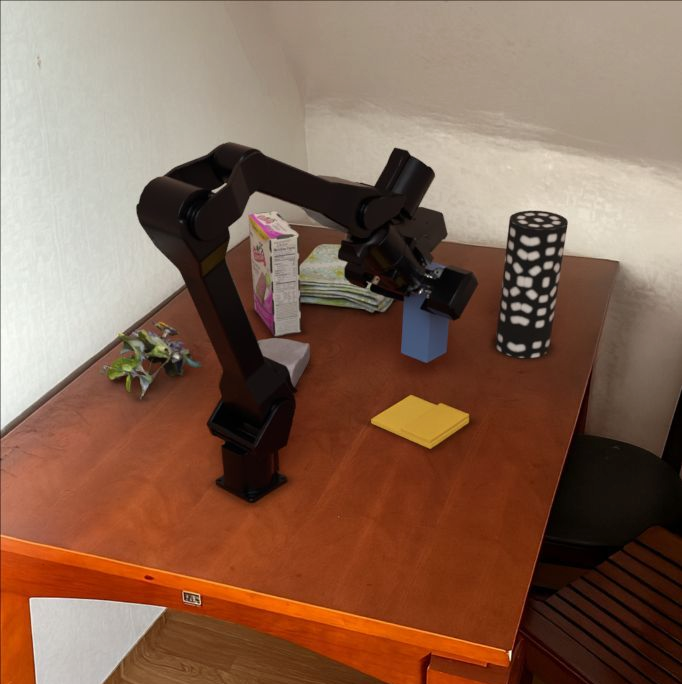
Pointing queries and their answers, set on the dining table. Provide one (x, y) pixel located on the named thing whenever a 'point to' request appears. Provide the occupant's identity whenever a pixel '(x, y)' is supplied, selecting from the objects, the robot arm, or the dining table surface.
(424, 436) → the cloth
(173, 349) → the passion flower
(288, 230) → the candy bar box
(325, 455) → the dining table surface
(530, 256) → the spotted tube
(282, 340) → the stone block
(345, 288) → the towel
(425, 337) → the block
